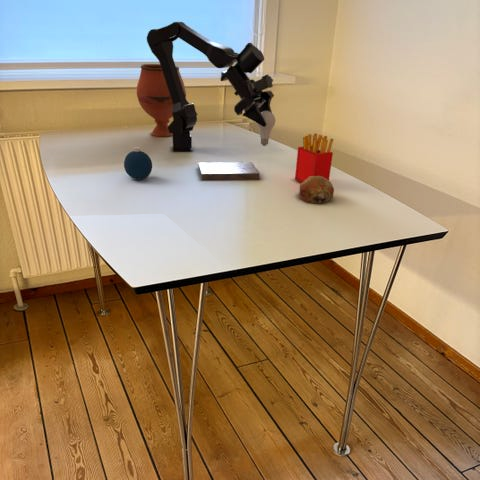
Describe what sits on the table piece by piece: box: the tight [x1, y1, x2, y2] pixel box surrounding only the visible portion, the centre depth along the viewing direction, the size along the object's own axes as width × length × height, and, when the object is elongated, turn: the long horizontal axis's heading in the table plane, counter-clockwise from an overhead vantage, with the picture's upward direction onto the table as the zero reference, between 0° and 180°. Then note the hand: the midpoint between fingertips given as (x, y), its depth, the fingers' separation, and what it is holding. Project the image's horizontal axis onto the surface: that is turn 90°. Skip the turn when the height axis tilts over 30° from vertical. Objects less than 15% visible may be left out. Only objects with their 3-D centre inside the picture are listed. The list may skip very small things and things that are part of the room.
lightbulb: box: [256, 111, 276, 147], centre depth 163 cm, size 6×6×11 cm
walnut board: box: [197, 162, 260, 181], centre depth 157 cm, size 18×12×2 cm, turn 99°
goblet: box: [136, 63, 187, 137], centre depth 193 cm, size 19×19×25 cm
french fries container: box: [294, 132, 334, 184], centre depth 150 cm, size 7×9×14 cm
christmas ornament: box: [123, 146, 153, 181], centre depth 147 cm, size 8×8×10 cm
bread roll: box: [298, 176, 335, 205], centre depth 140 cm, size 10×10×8 cm
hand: (269, 124), depth 161 cm, fingers closed on lightbulb, 6 cm apart
